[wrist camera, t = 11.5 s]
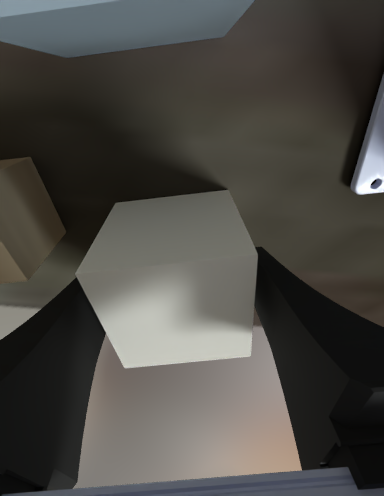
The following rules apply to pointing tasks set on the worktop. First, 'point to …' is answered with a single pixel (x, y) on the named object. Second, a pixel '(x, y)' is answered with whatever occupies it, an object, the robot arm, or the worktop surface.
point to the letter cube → (25, 220)
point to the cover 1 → (113, 23)
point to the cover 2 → (173, 279)
